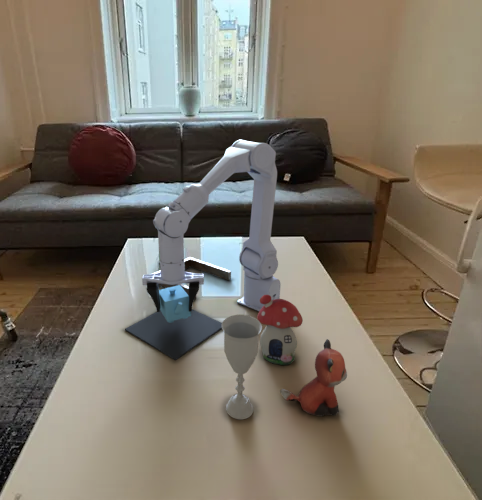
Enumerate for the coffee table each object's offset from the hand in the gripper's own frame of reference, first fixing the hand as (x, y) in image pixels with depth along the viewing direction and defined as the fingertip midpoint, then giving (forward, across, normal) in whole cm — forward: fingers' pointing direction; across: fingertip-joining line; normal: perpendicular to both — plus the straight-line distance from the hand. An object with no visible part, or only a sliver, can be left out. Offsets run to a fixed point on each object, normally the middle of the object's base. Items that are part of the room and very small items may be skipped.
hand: (174, 309), depth 95 cm
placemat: (+5, 0, 0) cm, 5 cm away
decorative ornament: (+6, -23, +11) cm, 26 cm away
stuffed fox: (+6, -27, +25) cm, 37 cm away
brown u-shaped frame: (+5, -4, -26) cm, 27 cm away
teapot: (+3, 0, -1) cm, 3 cm away
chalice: (+6, -14, +27) cm, 31 cm away
